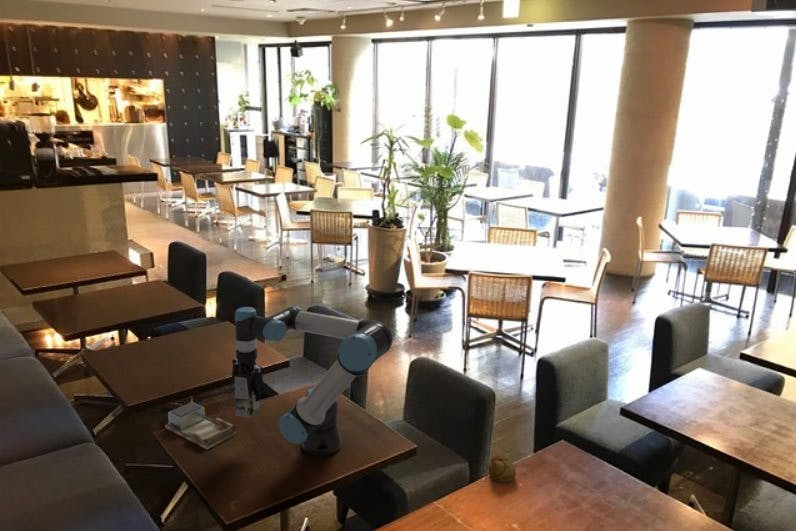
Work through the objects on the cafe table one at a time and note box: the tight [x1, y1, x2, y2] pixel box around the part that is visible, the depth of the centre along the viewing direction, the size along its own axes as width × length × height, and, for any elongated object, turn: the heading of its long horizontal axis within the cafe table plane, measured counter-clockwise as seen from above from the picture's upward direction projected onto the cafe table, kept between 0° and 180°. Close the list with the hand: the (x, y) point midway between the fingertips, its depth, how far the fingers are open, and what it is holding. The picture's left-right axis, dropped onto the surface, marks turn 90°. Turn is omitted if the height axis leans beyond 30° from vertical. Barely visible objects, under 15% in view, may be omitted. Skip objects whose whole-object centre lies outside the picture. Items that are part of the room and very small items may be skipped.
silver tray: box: [164, 415, 237, 450], centre depth 244 cm, size 26×14×4 cm, turn 55°
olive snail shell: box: [488, 454, 517, 484], centre depth 220 cm, size 13×10×8 cm
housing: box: [167, 401, 206, 430], centre depth 248 cm, size 8×12×5 cm
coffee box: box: [234, 372, 262, 419], centre depth 229 cm, size 9×6×16 cm
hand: (248, 404), depth 231 cm, fingers closed on coffee box, 8 cm apart
